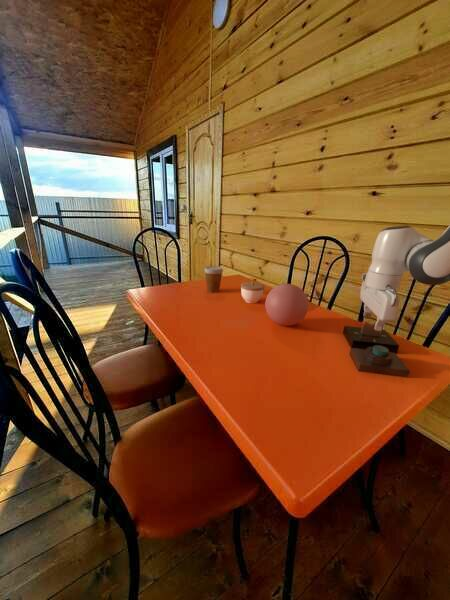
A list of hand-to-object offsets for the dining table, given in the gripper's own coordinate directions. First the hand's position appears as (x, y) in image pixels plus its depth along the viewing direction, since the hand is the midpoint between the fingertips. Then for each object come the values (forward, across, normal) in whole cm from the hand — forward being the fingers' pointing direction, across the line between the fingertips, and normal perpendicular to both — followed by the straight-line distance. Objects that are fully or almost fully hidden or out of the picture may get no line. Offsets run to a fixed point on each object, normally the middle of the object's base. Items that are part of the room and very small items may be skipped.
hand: (371, 323), depth 81 cm
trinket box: (+8, +31, +40) cm, 52 cm away
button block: (+7, -14, +2) cm, 15 cm away
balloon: (+8, +10, +25) cm, 28 cm away
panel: (+7, 0, 0) cm, 7 cm away
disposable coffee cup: (+8, +42, +62) cm, 75 cm away
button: (+3, -13, +2) cm, 14 cm away
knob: (+4, 0, 0) cm, 4 cm away
